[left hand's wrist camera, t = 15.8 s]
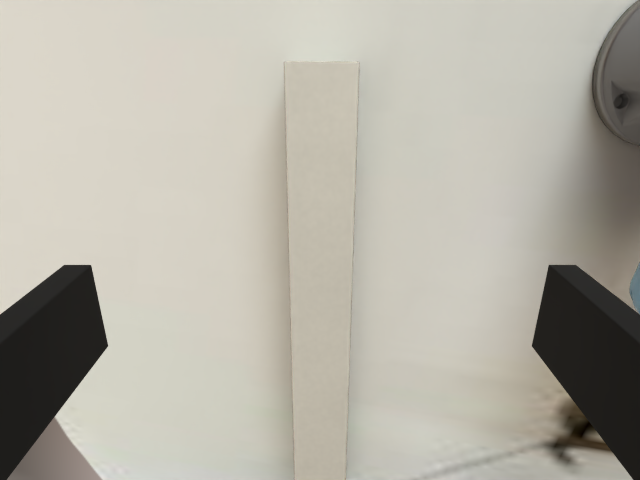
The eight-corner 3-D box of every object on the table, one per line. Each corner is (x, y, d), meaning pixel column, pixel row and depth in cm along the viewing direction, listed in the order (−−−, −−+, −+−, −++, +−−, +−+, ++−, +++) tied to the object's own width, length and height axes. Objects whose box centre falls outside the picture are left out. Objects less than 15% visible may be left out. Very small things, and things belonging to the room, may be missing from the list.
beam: (290, 62, 43) (283, 61, 35) (351, 62, 43) (359, 61, 35) (299, 476, 63) (295, 537, 55) (340, 476, 63) (343, 537, 55)
